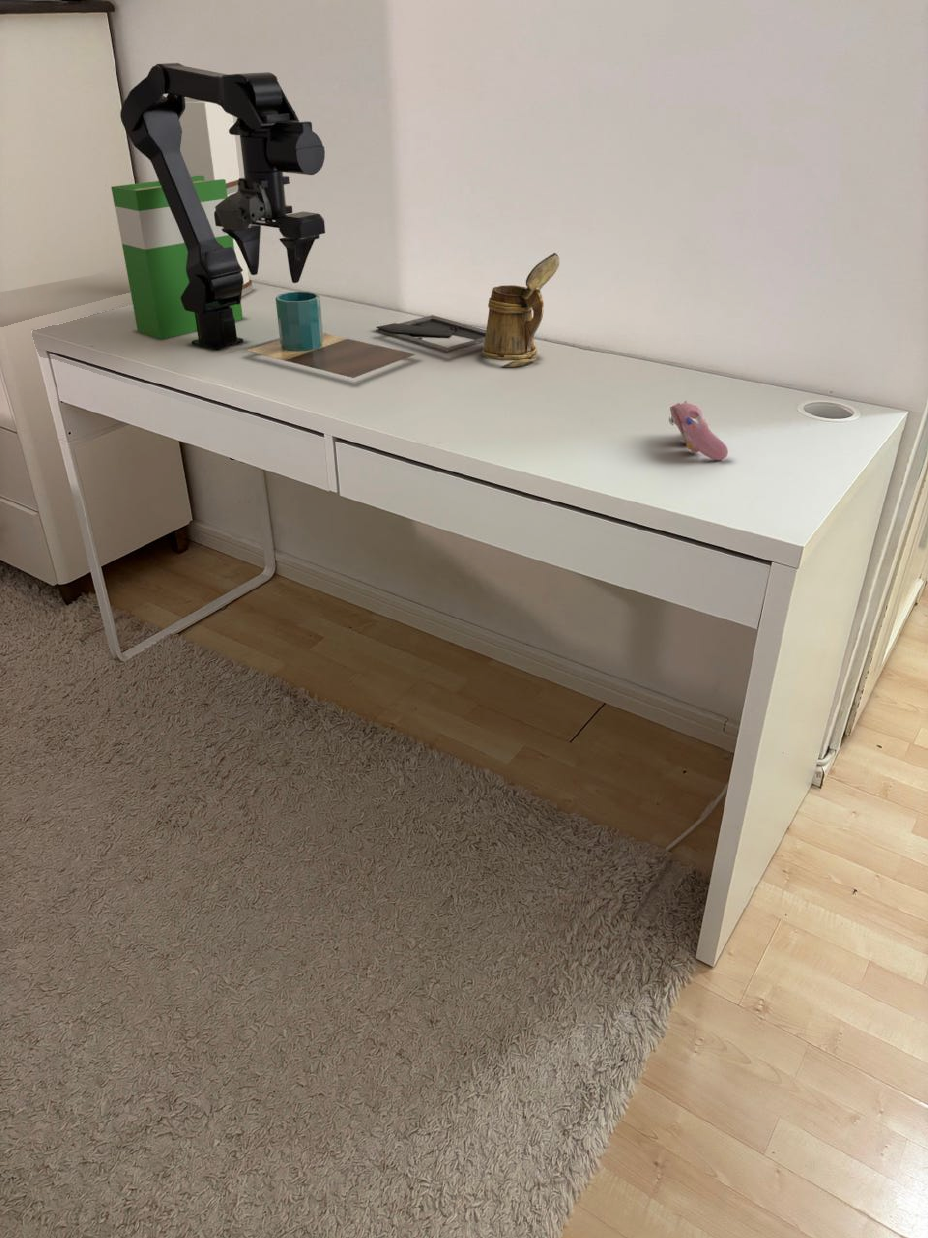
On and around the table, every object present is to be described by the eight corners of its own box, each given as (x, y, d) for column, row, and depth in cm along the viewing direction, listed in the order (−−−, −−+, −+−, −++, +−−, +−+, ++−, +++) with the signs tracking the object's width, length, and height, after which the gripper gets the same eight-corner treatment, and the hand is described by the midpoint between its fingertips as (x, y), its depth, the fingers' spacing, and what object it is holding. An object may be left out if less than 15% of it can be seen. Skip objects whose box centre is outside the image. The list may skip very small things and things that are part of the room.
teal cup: (272, 346, 159) (267, 297, 154) (302, 337, 163) (297, 289, 159) (302, 353, 155) (297, 303, 151) (331, 344, 160) (327, 295, 156)
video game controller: (677, 445, 129) (659, 401, 125) (708, 429, 128) (691, 385, 125) (698, 474, 121) (679, 428, 117) (732, 458, 120) (714, 411, 116)
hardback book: (219, 312, 182) (200, 175, 169) (242, 319, 178) (225, 179, 165) (137, 331, 171) (111, 186, 158) (160, 339, 167) (135, 191, 154)
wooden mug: (531, 377, 148) (535, 257, 139) (470, 359, 157) (470, 244, 147) (567, 365, 154) (574, 248, 144) (507, 347, 162) (509, 236, 152)
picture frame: (376, 337, 167) (446, 360, 156) (376, 326, 166) (446, 348, 155) (432, 323, 175) (502, 343, 164) (432, 312, 174) (503, 332, 163)
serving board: (246, 357, 158) (245, 350, 157) (310, 336, 168) (309, 329, 167) (354, 385, 146) (353, 377, 145) (415, 361, 156) (415, 353, 155)
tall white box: (252, 290, 197) (230, 98, 178) (230, 302, 188) (204, 102, 169) (202, 287, 199) (174, 97, 180) (177, 299, 190) (146, 101, 172)
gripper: (179, 170, 140) (195, 280, 149) (267, 181, 131) (279, 297, 139) (236, 162, 148) (248, 267, 156) (323, 172, 138) (331, 282, 147)
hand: (274, 278), depth 149 cm, fingers open, 9 cm apart
